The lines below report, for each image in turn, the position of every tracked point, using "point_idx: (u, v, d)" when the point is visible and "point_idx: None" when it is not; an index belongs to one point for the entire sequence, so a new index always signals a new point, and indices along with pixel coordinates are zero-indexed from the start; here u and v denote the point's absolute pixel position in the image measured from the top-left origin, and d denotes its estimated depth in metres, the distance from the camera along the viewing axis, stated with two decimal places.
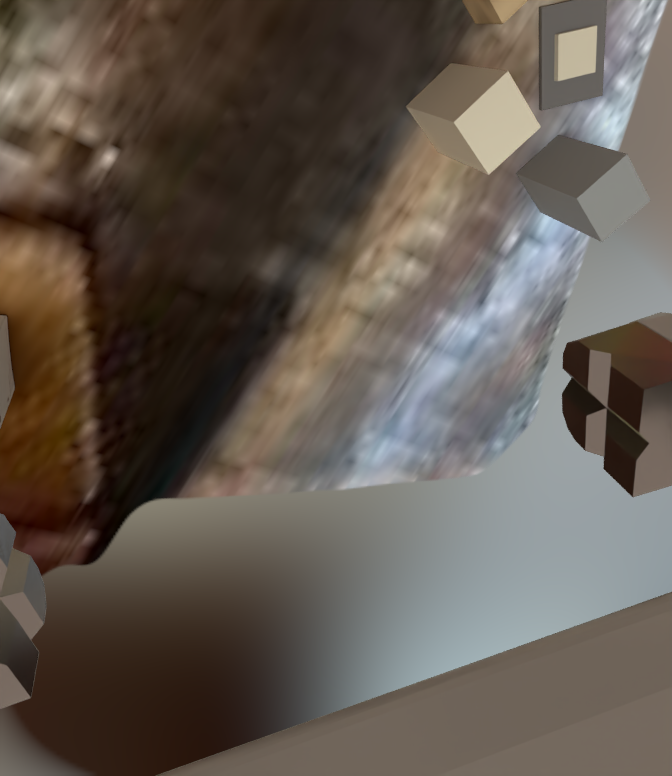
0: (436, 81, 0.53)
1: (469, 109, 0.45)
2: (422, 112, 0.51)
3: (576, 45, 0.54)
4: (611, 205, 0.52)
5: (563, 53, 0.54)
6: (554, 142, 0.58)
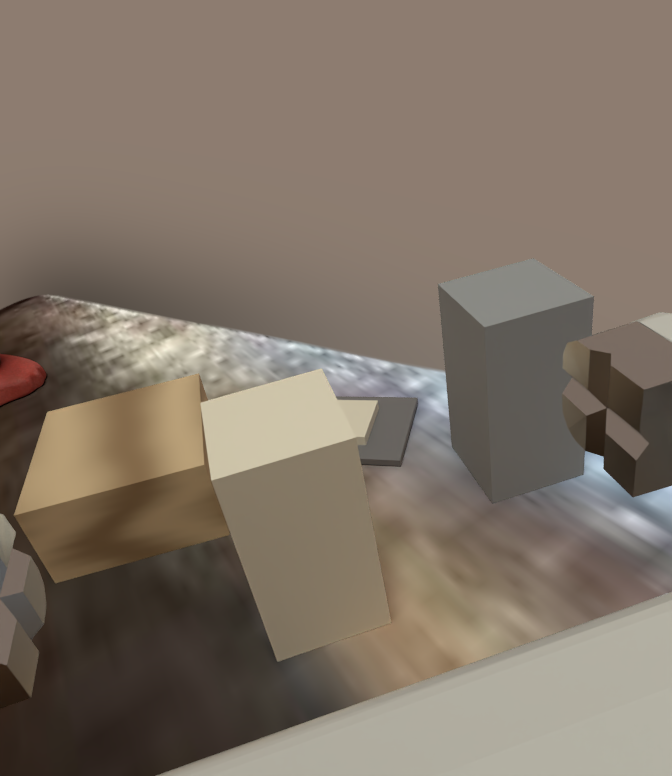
0: None
1: (211, 455, 0.22)
2: (258, 602, 0.24)
3: None
4: (520, 292, 0.28)
5: None
6: (457, 447, 0.35)
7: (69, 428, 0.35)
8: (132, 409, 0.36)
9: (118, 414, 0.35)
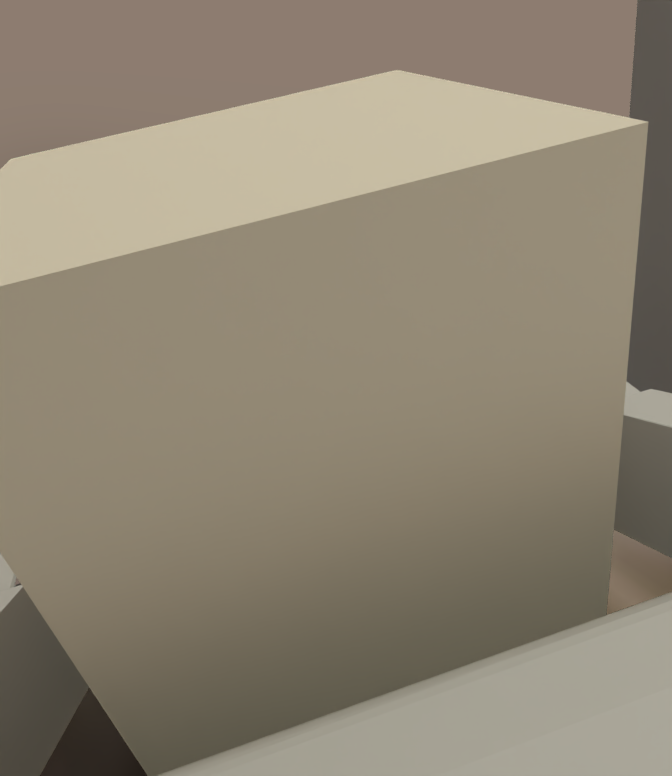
0: None
1: None
2: None
3: None
4: None
5: None
6: (629, 382, 0.17)
7: None
8: None
9: None
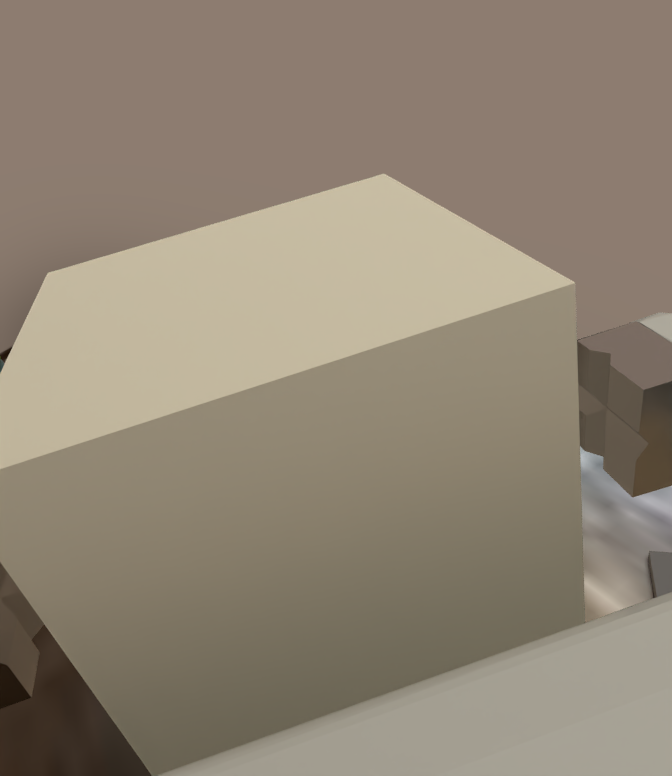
0: None
1: (3, 391, 0.06)
2: None
3: None
4: None
5: None
6: None
7: None
8: None
9: None
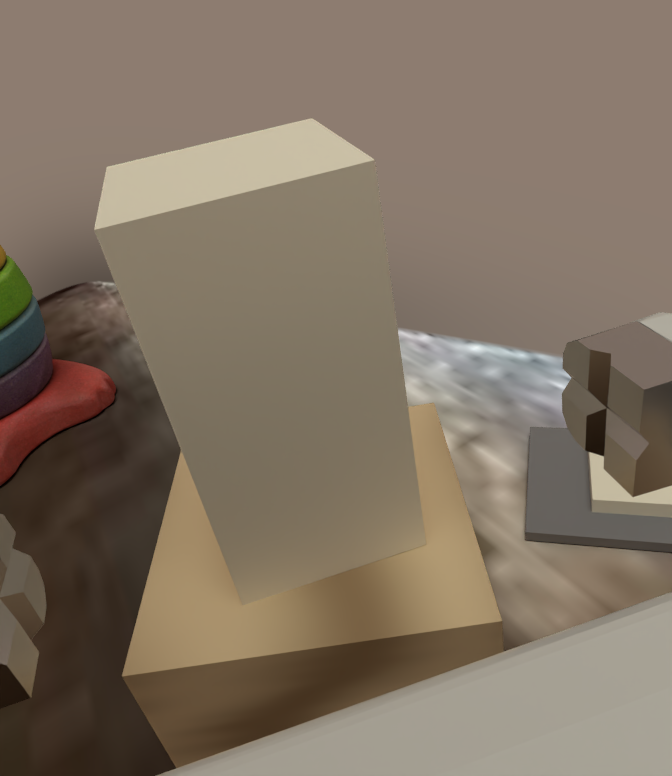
0: None
1: (105, 206, 0.12)
2: (204, 498, 0.14)
3: None
4: None
5: None
6: None
7: None
8: None
9: None
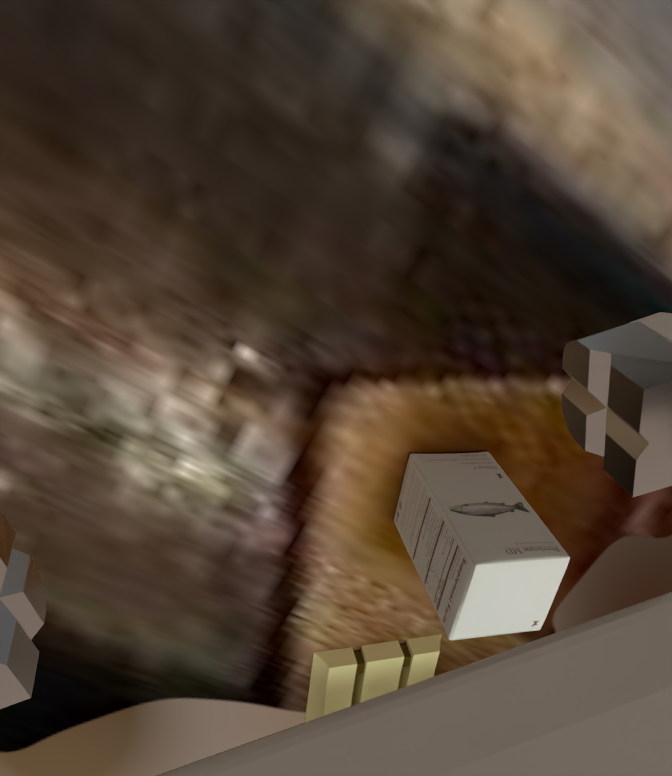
0: None
1: None
2: None
3: None
4: None
5: None
6: None
7: None
8: None
9: None
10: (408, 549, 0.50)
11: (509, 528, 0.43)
